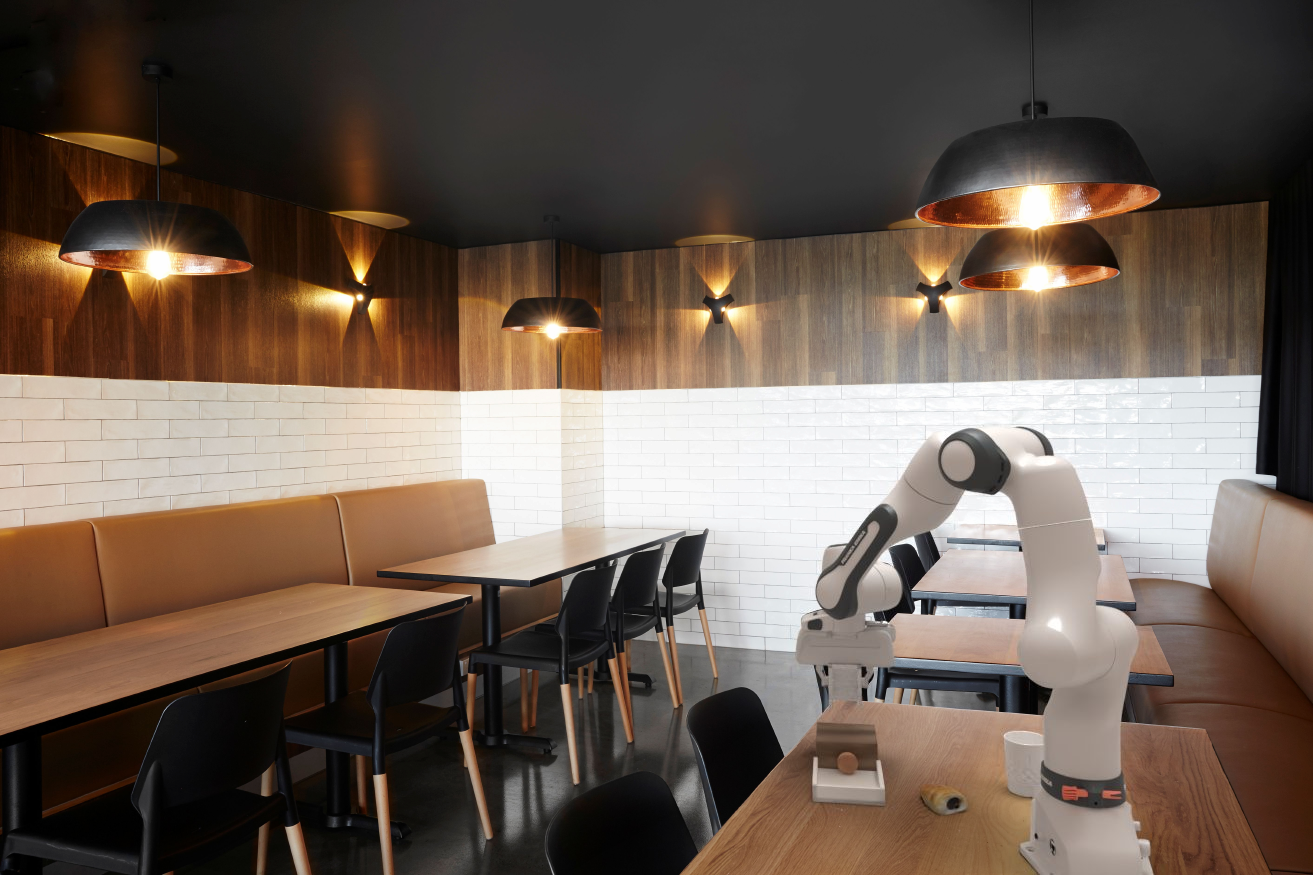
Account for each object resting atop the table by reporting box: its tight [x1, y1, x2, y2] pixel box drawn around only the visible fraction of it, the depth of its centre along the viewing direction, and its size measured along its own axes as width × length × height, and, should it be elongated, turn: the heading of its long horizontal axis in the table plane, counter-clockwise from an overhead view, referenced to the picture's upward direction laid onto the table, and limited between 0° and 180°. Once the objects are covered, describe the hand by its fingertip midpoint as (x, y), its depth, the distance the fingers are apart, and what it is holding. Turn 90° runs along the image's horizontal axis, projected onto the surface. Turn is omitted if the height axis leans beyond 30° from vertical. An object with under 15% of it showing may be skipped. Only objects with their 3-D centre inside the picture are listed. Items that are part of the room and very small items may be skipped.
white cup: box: [1003, 730, 1044, 799], centre depth 166 cm, size 8×8×10 cm
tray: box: [811, 756, 886, 807], centre depth 169 cm, size 15×13×3 cm
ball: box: [837, 752, 858, 774], centre depth 175 cm, size 4×4×4 cm
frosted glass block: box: [827, 663, 863, 710], centre depth 185 cm, size 6×7×9 cm
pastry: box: [919, 783, 969, 816], centre depth 161 cm, size 9×7×4 cm
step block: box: [815, 721, 879, 771], centre depth 183 cm, size 12×12×6 cm
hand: (844, 686), depth 185 cm, fingers closed on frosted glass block, 7 cm apart
